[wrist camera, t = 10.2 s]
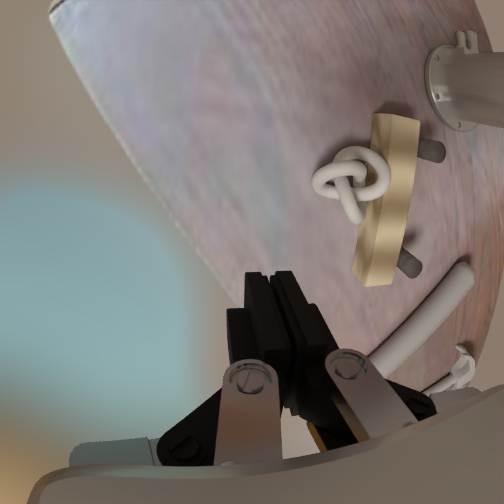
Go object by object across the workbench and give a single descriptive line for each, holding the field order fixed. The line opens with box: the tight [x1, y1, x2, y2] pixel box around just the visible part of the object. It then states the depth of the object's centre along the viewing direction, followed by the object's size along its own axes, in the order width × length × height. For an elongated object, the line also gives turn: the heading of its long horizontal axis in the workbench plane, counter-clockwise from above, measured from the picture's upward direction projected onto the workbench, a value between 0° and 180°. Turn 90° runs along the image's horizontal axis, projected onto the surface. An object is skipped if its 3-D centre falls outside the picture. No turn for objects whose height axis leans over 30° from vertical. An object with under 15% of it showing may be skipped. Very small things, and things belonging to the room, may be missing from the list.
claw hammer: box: [422, 344, 475, 396], centre depth 54 cm, size 6×22×30 cm
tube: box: [368, 261, 475, 378], centre depth 41 cm, size 5×5×25 cm
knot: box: [311, 146, 391, 224], centre depth 28 cm, size 8×8×6 cm
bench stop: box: [352, 113, 446, 287], centre depth 30 cm, size 20×7×6 cm, turn 178°
